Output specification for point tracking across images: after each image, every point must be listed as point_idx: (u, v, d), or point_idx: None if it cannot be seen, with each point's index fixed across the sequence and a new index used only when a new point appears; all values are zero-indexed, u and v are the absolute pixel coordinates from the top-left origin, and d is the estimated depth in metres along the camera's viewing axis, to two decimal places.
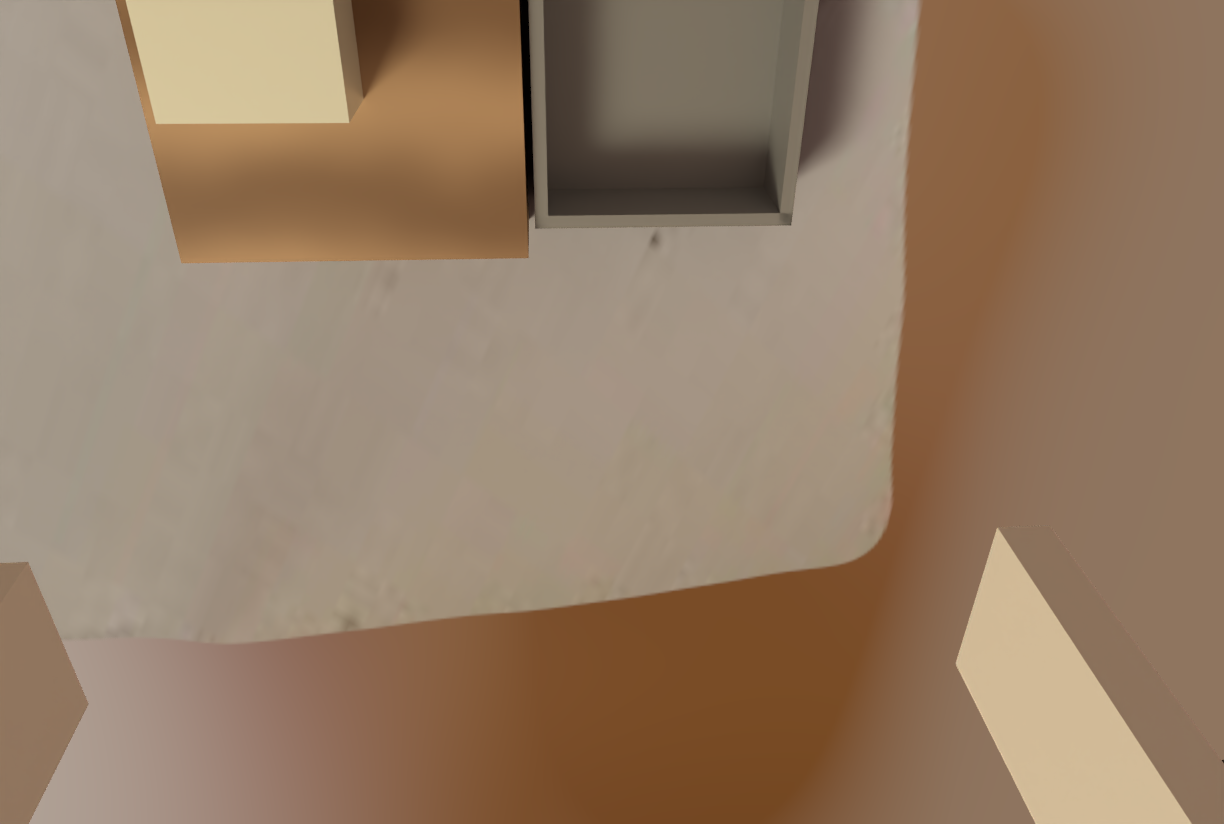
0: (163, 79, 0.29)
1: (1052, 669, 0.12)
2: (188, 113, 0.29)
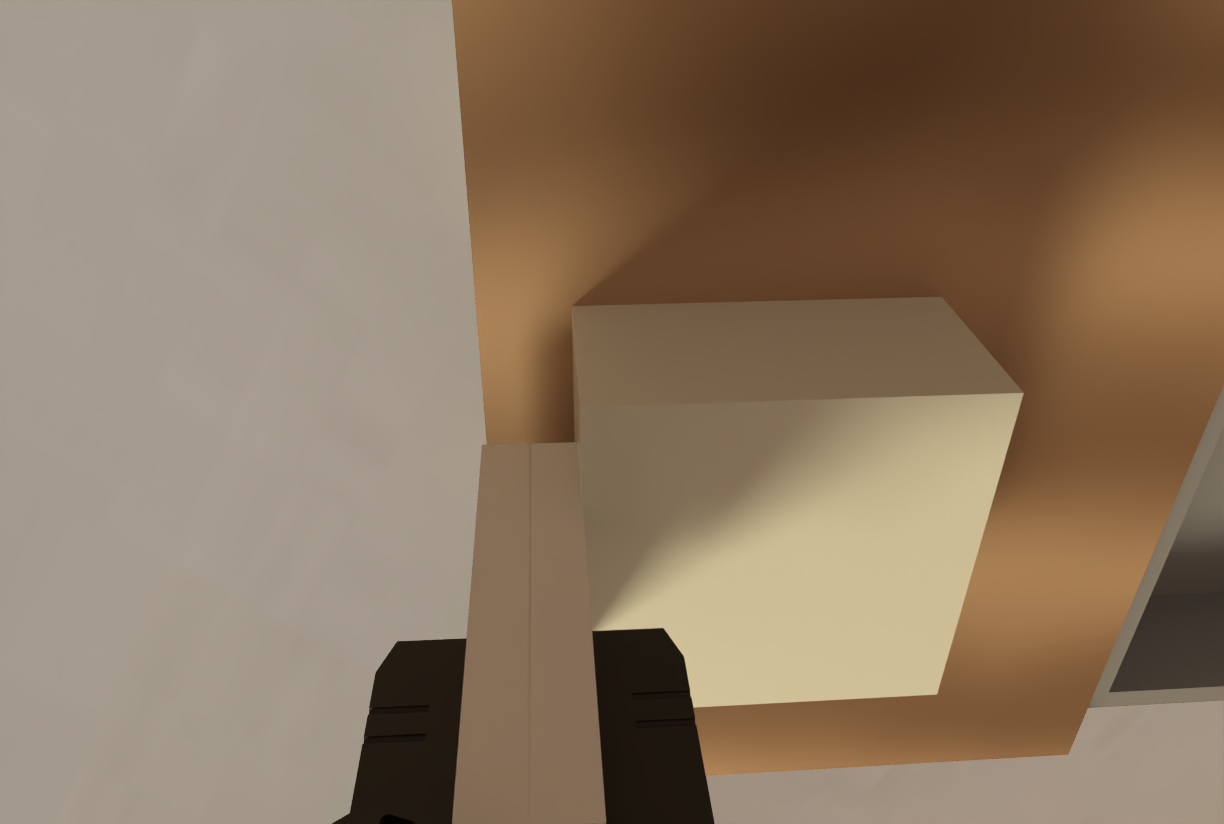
0: None
1: None
2: None
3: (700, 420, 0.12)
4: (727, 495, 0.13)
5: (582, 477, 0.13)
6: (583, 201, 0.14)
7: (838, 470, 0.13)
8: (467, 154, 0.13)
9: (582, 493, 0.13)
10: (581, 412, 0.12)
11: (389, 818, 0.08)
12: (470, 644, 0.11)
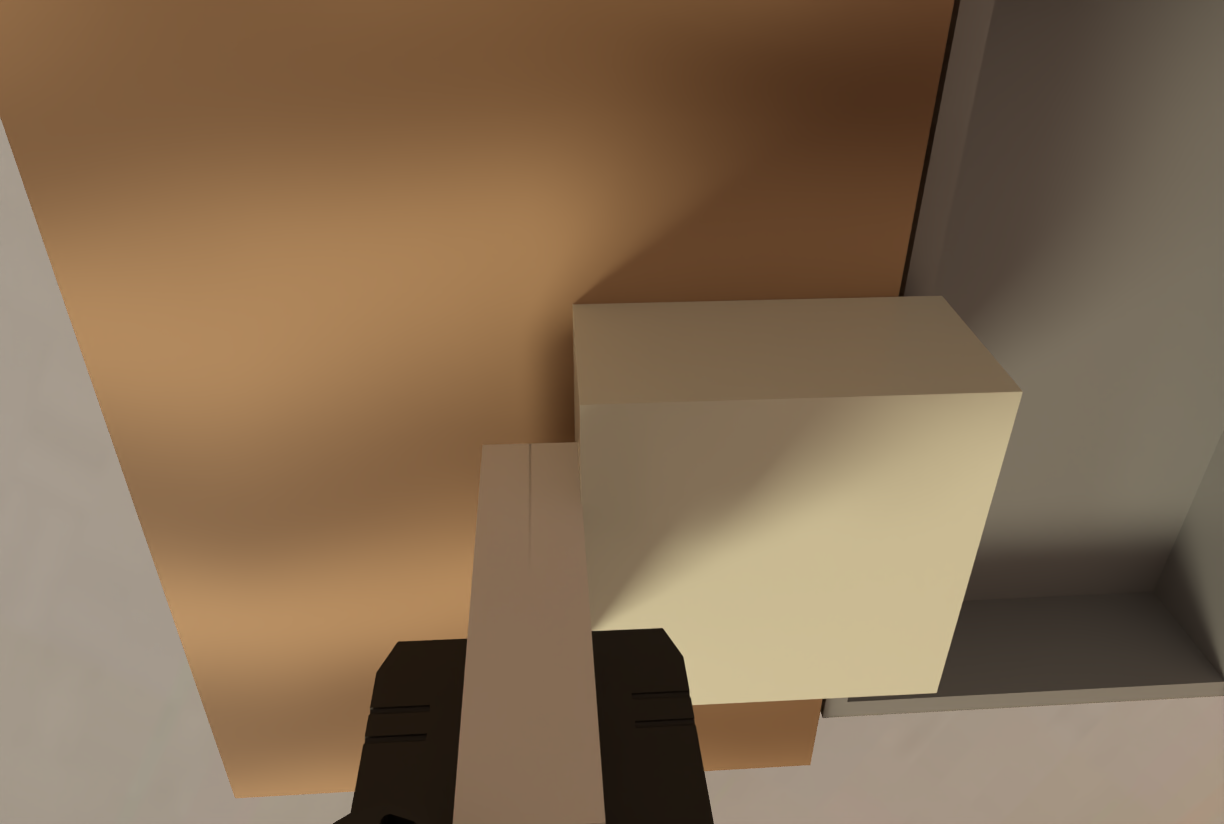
0: None
1: None
2: None
3: (699, 418, 0.12)
4: (726, 493, 0.13)
5: (582, 474, 0.13)
6: (153, 204, 0.13)
7: (837, 468, 0.13)
8: (17, 155, 0.13)
9: (582, 490, 0.13)
10: (581, 410, 0.12)
11: (390, 818, 0.08)
12: (470, 644, 0.11)
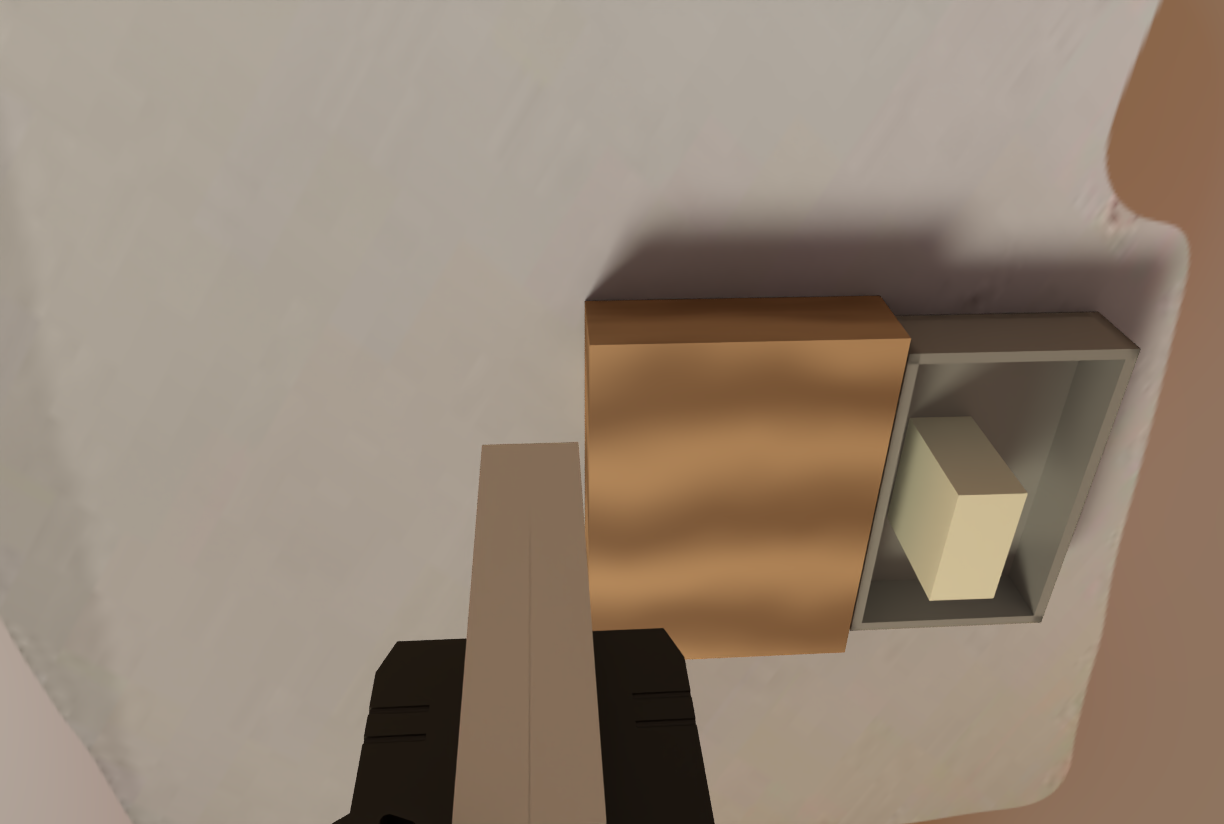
0: None
1: None
2: None
3: None
4: None
5: (1020, 514, 0.40)
6: (629, 434, 0.39)
7: None
8: (590, 420, 0.39)
9: None
10: None
11: (389, 818, 0.08)
12: (470, 644, 0.11)
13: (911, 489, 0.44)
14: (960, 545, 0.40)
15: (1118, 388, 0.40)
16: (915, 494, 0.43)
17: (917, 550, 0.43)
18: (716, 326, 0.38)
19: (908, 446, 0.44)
